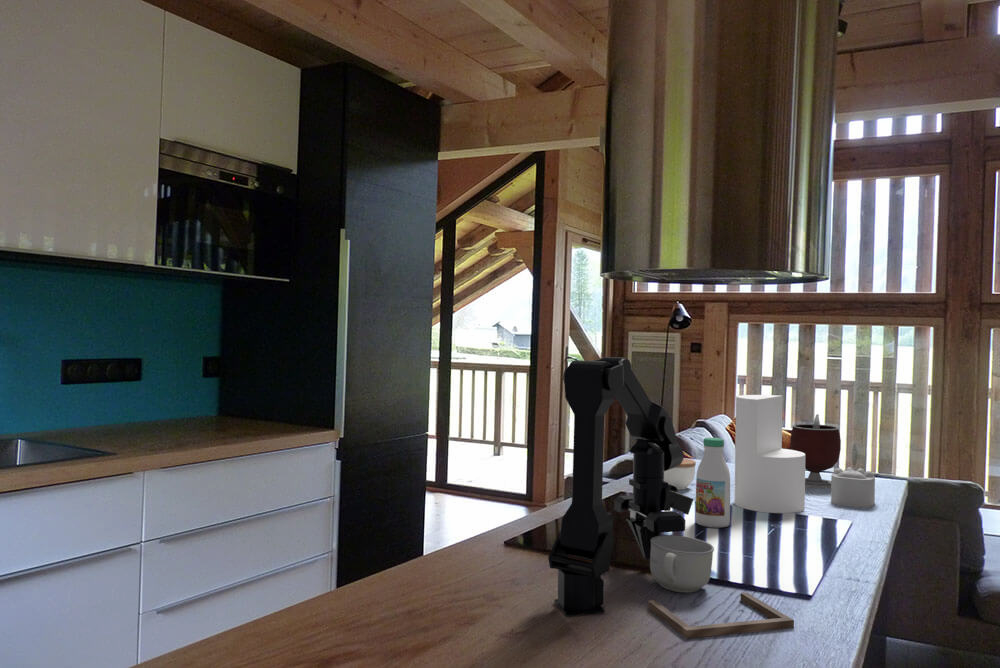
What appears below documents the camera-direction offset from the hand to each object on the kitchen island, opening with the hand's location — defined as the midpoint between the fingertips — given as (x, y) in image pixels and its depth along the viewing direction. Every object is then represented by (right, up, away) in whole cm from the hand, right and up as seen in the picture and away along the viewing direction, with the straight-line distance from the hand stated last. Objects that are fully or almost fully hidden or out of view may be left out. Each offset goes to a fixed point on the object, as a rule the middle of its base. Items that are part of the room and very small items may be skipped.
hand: (647, 558), depth 147 cm
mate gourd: (+66, -3, +86) cm, 109 cm away
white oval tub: (+67, -3, +62) cm, 91 cm away
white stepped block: (+42, -3, +56) cm, 70 cm away
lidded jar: (+23, -2, +78) cm, 81 cm away
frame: (+7, -2, -25) cm, 26 cm away
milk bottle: (+22, -2, +35) cm, 41 cm away
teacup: (+3, -2, -11) cm, 12 cm away
